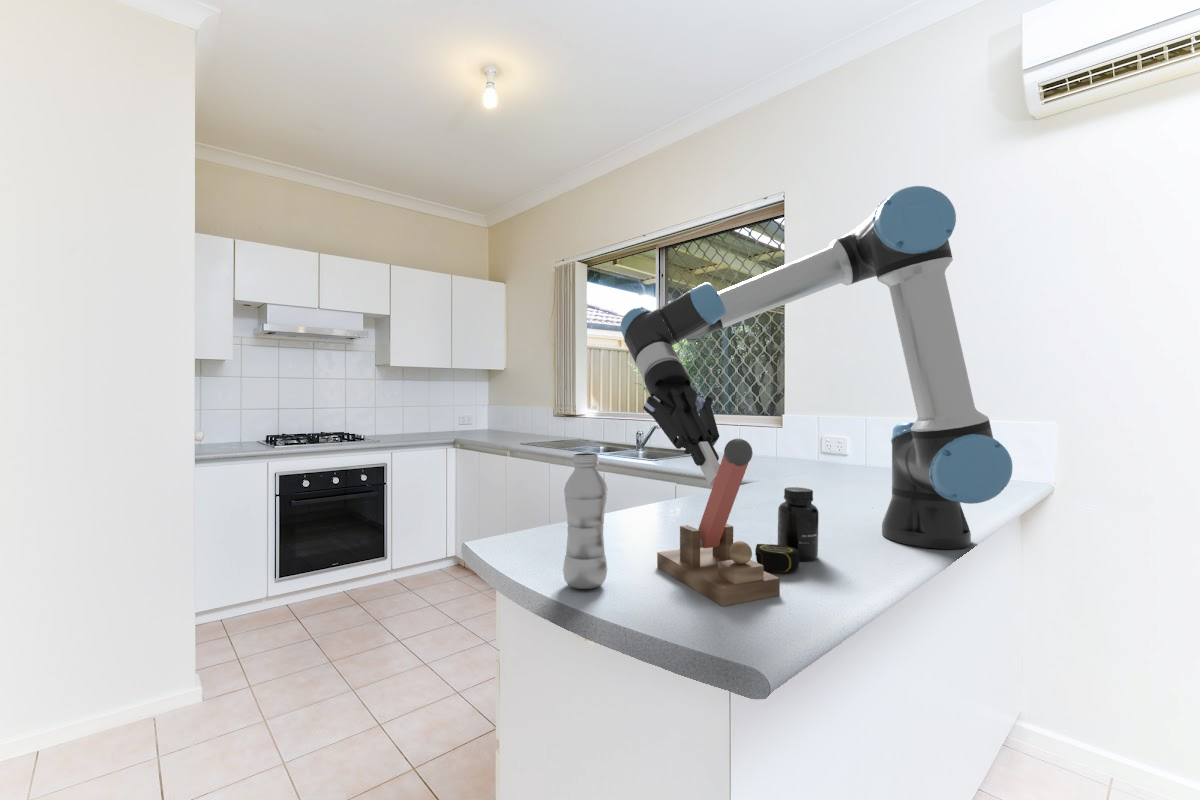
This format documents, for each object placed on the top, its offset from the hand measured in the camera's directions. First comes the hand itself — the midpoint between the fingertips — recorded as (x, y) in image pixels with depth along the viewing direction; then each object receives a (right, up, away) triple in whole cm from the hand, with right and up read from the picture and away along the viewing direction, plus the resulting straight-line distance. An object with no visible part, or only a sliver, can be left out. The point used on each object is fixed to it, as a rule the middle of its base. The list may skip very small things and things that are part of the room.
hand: (716, 479), depth 83 cm
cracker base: (0, -16, +1) cm, 16 cm away
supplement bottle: (+17, -16, +14) cm, 27 cm away
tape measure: (+11, -16, +8) cm, 21 cm away
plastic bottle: (-20, -16, -1) cm, 26 cm away
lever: (-1, -10, +3) cm, 11 cm away
